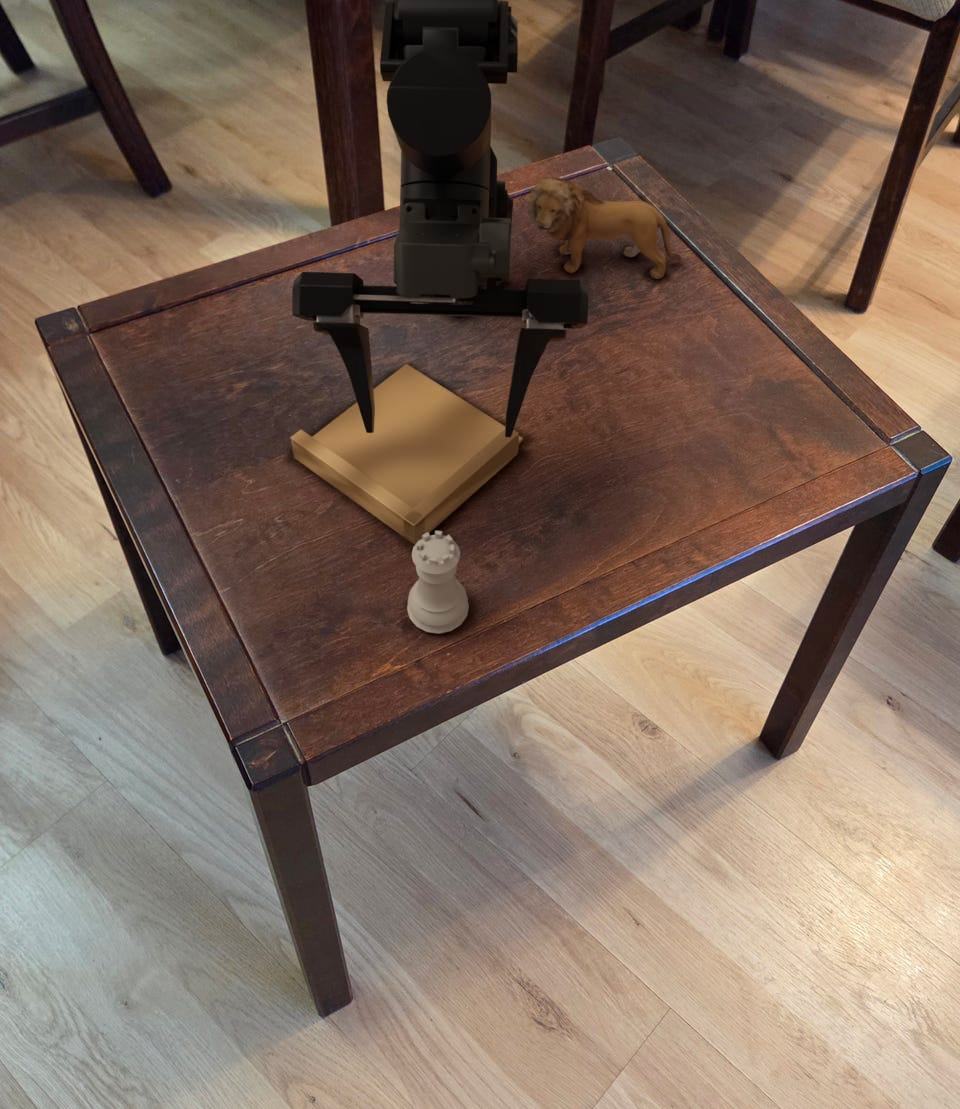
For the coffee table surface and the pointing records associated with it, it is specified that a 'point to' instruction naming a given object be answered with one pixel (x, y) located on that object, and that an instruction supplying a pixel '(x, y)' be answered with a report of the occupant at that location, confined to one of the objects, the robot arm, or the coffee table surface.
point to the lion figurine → (597, 222)
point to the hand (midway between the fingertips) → (439, 434)
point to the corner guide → (409, 453)
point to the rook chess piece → (437, 585)
